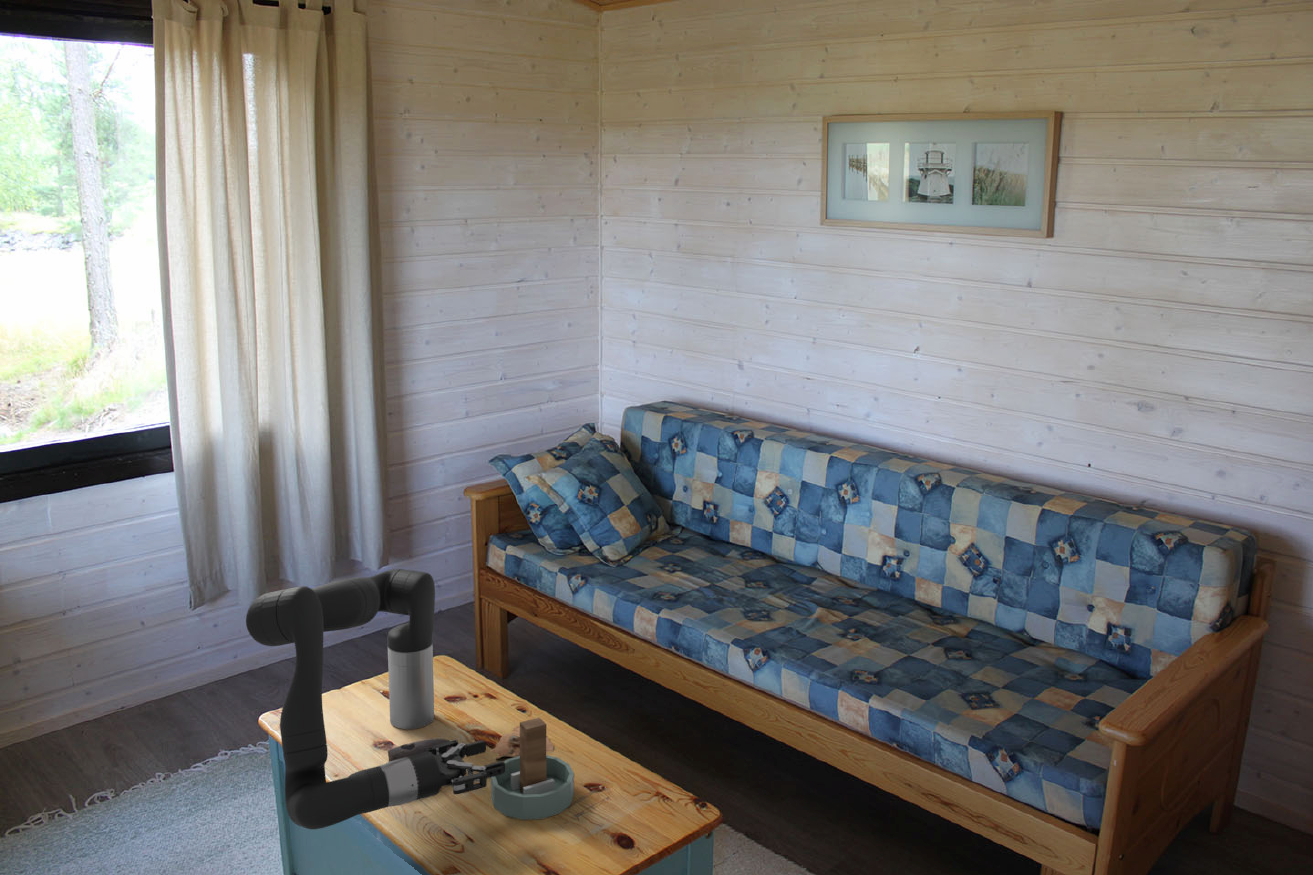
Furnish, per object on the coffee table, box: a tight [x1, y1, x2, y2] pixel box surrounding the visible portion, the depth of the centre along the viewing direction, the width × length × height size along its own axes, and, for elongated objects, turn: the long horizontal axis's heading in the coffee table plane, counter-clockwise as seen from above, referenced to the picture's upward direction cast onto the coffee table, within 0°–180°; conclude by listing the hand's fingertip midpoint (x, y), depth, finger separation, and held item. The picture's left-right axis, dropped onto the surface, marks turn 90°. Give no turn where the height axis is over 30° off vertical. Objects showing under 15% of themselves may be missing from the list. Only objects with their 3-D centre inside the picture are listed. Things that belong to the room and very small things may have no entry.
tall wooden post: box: [519, 717, 547, 794], centre depth 200 cm, size 3×4×14 cm
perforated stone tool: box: [387, 738, 452, 762], centre depth 208 cm, size 15×5×7 cm, turn 130°
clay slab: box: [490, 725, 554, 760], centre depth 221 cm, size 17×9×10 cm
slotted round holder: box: [490, 754, 575, 821], centre depth 202 cm, size 15×15×4 cm
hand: (494, 755), depth 196 cm, fingers open, 8 cm apart
